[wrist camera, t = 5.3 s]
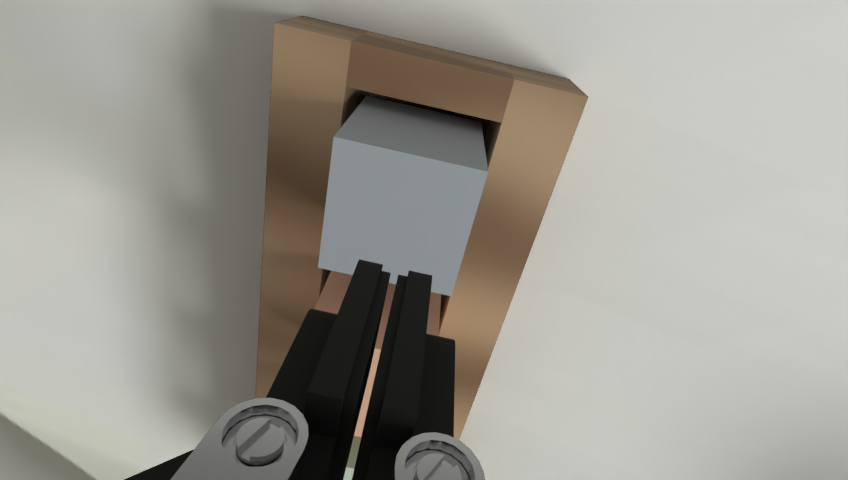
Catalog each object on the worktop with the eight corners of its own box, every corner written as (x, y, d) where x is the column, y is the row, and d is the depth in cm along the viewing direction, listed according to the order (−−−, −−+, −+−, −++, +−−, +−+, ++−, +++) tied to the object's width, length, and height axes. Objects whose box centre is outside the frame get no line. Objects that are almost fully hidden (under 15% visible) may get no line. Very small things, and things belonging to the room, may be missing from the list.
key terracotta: (421, 350, 21) (410, 447, 17) (328, 330, 21) (293, 423, 17) (442, 273, 19) (437, 360, 15) (339, 251, 19) (303, 333, 15)
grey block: (453, 223, 19) (451, 296, 15) (350, 200, 19) (317, 267, 15) (481, 122, 17) (488, 171, 13) (366, 95, 17) (333, 136, 12)
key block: (423, 493, 30) (420, 542, 28) (268, 462, 30) (249, 510, 27) (569, 79, 18) (588, 96, 15) (302, 16, 17) (274, 22, 14)
